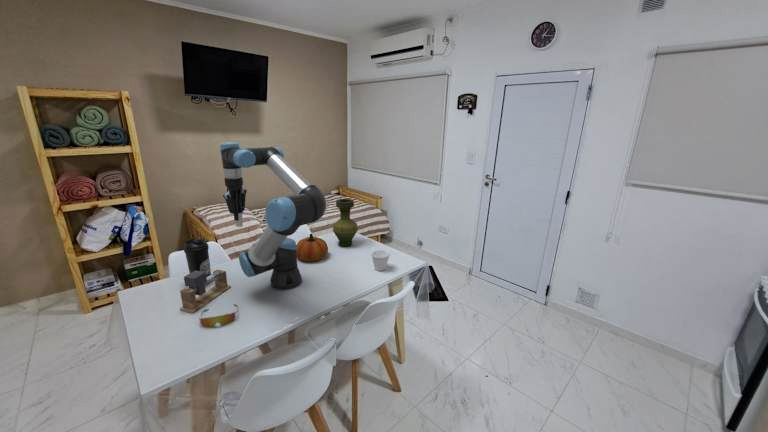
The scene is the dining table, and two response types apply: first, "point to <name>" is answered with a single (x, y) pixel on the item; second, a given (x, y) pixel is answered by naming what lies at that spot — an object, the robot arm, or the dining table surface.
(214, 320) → the sunglasses
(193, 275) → the collar
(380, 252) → the cup
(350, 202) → the vase
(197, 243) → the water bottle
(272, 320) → the dining table surface
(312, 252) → the pumpkin
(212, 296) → the rail
